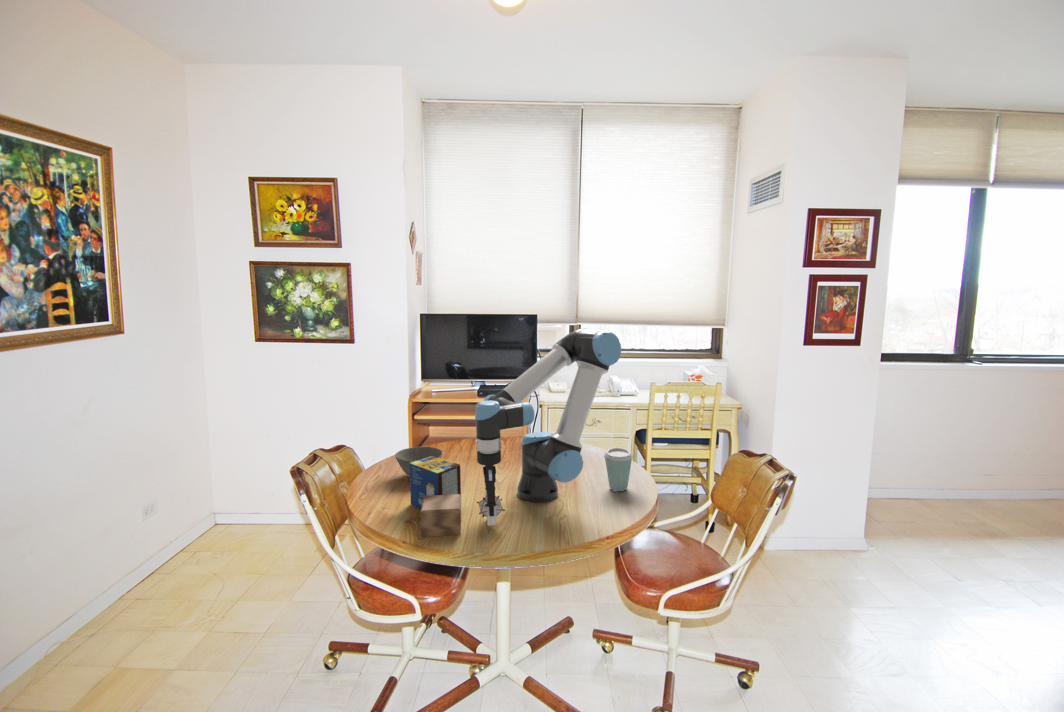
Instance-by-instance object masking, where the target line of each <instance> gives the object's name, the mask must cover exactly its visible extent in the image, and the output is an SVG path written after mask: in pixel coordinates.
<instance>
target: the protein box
mask: <svg viewBox="0 0 1064 712" xmlns="http://www.w3.org/2000/svg"><path fill="white" fill-rule="evenodd" d="M461 481H462V480H461V464H460V463H456V462H453V461H450V460H447V459H444V458H442V457H441V458H438V457H435V456H430V457H427V458H424V459H420V460H417V461H414V462H411V463H410V477H409V486H410V487H409V489H410V490H409V491H410V495H409V496H410V505H411V506H413V507H415V508H418V509H420V510H421V508H422V503H423V498H424V496H430V495H451V494H461V495H462V487H461Z"/></svg>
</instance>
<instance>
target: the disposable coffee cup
mask: <svg viewBox="0 0 1064 712" xmlns="http://www.w3.org/2000/svg"><path fill="white" fill-rule="evenodd" d="M603 457H604V459H605V466H606V472H607V479H608V486H609V489H610V488H611V489H612V490H615V491H624V490H626V491H627V489H628V486H629V479H630V474H631V465H632V461H633V453H632V452H631V451H630V450H629V449H627V448H624V447H610V448H608V449H606V451H605V452H604V456H603ZM611 489H610V490H611ZM612 490H611V491H612ZM615 491H614V492H615ZM624 492H625V491H624Z"/></svg>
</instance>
